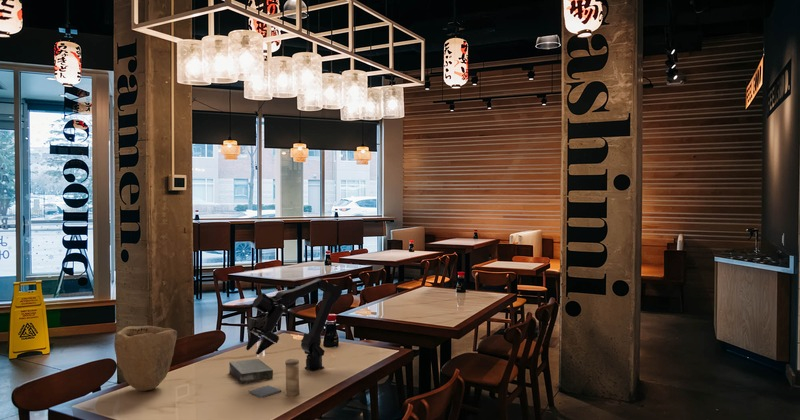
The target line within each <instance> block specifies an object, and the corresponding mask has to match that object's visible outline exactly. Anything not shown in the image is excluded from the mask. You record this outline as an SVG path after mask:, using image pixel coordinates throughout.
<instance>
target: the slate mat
mask: <svg viewBox="0 0 800 420" xmlns="http://www.w3.org/2000/svg"><path fill="white" fill-rule="evenodd" d="M248 393H249V394H251V395H254V396H256V397H258V398H260V399H262V398H265V397H268V396H272V395H275V394H279V393H282V390H281V389H279V388H277V387H273V386H271V385H265V386H261V387H258V388H255V389H251V390H248Z"/></svg>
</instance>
